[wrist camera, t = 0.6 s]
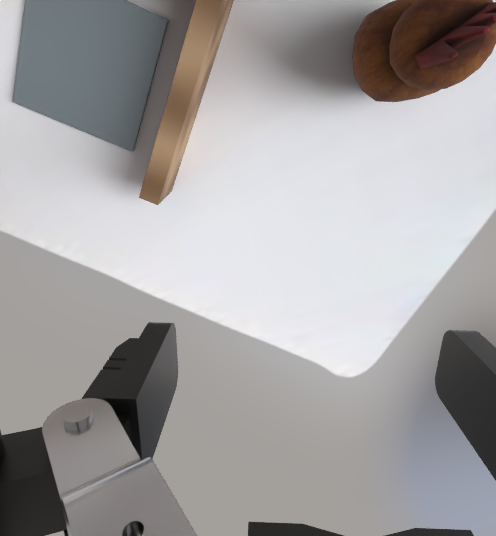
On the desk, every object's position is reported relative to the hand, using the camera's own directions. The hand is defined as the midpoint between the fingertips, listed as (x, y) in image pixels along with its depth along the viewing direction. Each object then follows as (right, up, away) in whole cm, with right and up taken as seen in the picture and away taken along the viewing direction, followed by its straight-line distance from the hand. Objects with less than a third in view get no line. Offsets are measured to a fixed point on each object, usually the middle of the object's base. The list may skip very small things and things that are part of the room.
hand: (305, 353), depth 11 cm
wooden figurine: (+9, +18, +17) cm, 26 cm away
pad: (-14, +18, +18) cm, 29 cm away
